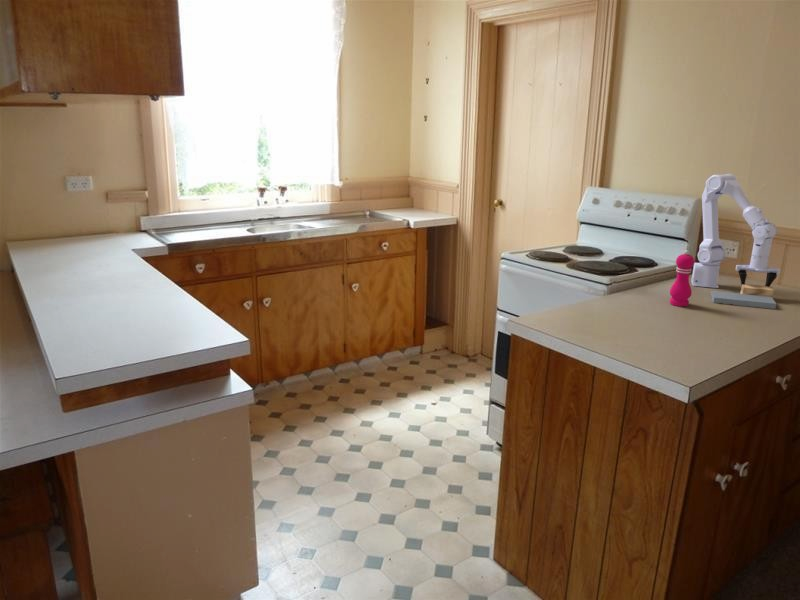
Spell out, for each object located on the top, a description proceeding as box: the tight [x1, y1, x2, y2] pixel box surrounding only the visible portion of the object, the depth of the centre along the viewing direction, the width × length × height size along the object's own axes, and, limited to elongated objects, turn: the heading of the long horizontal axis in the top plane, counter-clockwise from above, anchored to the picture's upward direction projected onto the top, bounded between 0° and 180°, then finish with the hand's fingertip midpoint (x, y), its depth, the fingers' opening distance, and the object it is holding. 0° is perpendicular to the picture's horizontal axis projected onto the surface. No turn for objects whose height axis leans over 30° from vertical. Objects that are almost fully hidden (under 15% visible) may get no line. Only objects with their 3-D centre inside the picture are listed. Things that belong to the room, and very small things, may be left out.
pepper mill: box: [669, 249, 695, 307], centre depth 225 cm, size 7×7×20 cm
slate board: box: [710, 290, 777, 310], centre depth 231 cm, size 20×10×2 cm, turn 70°
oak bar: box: [739, 283, 775, 299], centre depth 235 cm, size 10×5×4 cm, turn 70°
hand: (753, 290), depth 239 cm, fingers open, 7 cm apart
